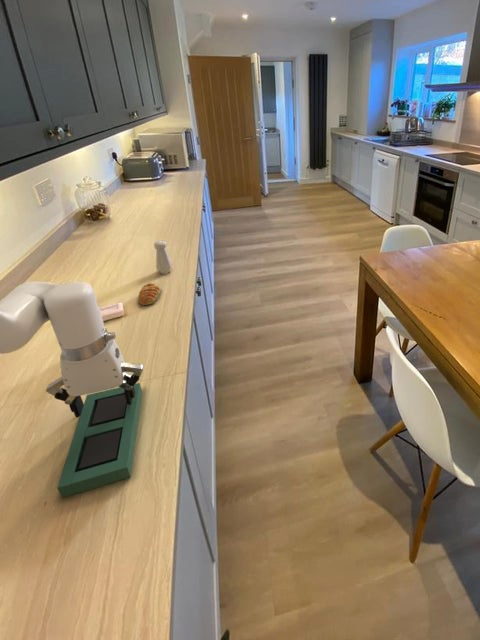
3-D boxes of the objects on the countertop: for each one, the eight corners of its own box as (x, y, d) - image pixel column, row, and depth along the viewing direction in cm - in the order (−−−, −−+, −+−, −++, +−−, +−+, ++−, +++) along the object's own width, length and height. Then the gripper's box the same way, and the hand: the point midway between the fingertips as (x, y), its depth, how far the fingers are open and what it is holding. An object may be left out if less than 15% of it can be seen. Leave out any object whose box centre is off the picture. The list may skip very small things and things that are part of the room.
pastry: (158, 304, 109) (156, 295, 108) (136, 308, 108) (134, 298, 106) (161, 290, 118) (159, 281, 116) (141, 293, 116) (138, 283, 114)
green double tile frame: (62, 498, 57) (56, 488, 56) (90, 404, 74) (86, 394, 73) (130, 477, 60) (127, 467, 59) (142, 391, 77) (139, 382, 76)
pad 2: (83, 478, 60) (78, 468, 59) (91, 447, 65) (87, 438, 64) (119, 468, 62) (115, 458, 60) (124, 438, 67) (120, 429, 65)
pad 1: (95, 433, 68) (91, 424, 66) (101, 409, 73) (98, 400, 72) (126, 425, 69) (123, 416, 68) (130, 402, 75) (127, 393, 73)
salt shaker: (159, 276, 126) (153, 246, 121) (155, 270, 130) (149, 241, 125) (174, 272, 129) (169, 242, 124) (170, 266, 134) (165, 237, 128)
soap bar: (124, 316, 104) (122, 309, 103) (91, 325, 99) (89, 318, 98) (123, 307, 108) (121, 301, 107) (91, 315, 104) (89, 309, 103)
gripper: (136, 322, 68) (151, 381, 75) (39, 339, 63) (64, 401, 70) (132, 346, 62) (148, 409, 69) (23, 367, 56) (52, 433, 63)
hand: (105, 405), depth 69 cm, fingers open, 9 cm apart
